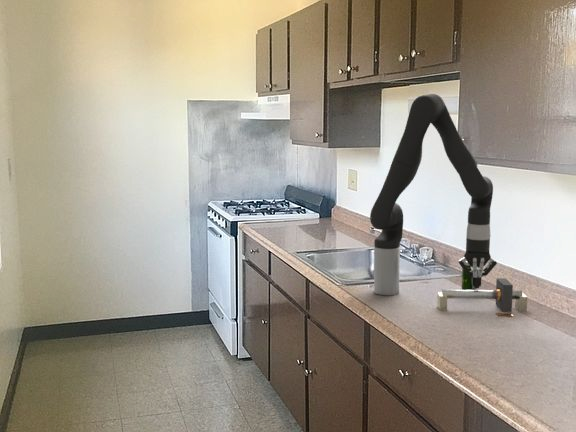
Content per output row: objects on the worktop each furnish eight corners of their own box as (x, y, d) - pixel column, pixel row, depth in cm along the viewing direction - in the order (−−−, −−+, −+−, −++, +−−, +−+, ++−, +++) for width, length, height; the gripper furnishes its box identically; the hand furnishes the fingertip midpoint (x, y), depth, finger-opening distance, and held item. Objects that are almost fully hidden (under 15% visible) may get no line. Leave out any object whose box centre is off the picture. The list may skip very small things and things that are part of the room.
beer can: (479, 292, 237) (480, 261, 236) (472, 296, 234) (473, 263, 232) (465, 290, 241) (466, 258, 239) (458, 293, 237) (459, 261, 235)
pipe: (442, 316, 210) (443, 295, 209) (437, 306, 221) (437, 287, 220) (532, 317, 208) (532, 296, 207) (522, 307, 219) (523, 287, 218)
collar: (502, 311, 213) (503, 285, 211) (495, 303, 221) (496, 278, 220) (511, 311, 212) (512, 285, 211) (504, 304, 221) (505, 278, 220)
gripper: (495, 235, 218) (493, 285, 220) (455, 234, 218) (453, 284, 221) (501, 239, 210) (499, 290, 213) (460, 238, 211) (458, 290, 214)
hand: (476, 287), depth 217 cm, fingers closed
